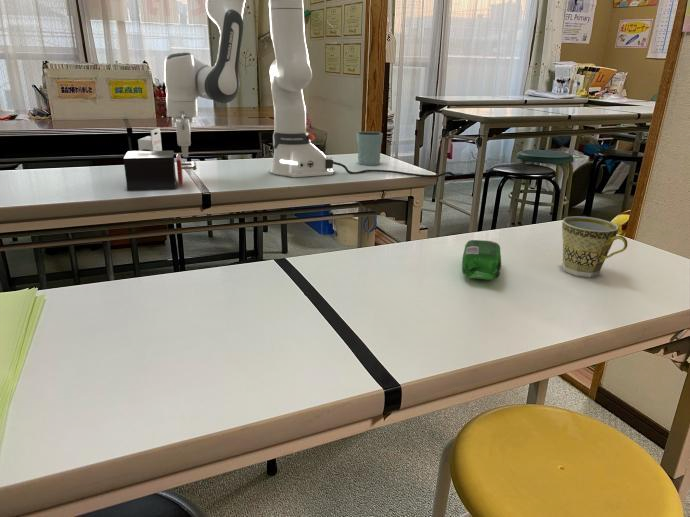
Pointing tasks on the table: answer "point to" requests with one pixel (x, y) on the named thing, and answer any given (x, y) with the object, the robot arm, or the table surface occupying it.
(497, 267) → the snack package
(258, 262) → the table surface
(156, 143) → the ink box
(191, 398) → the table surface
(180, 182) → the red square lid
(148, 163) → the black drawer casing
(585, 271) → the ceramic cup
